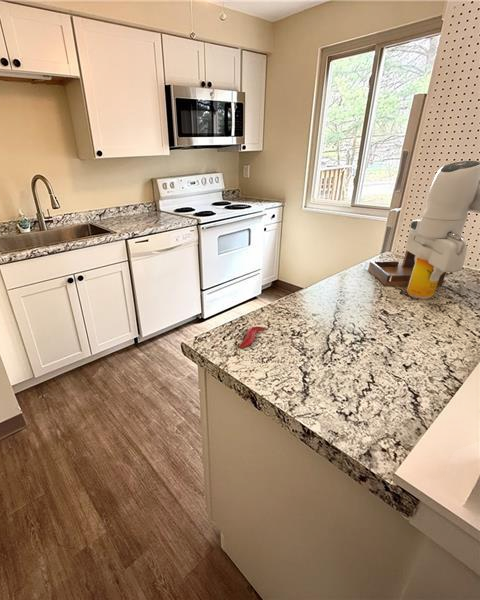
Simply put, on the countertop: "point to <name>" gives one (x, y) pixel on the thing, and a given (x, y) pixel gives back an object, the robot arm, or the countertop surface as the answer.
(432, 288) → the beer can
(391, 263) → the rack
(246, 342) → the cayenne pepper
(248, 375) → the countertop surface
